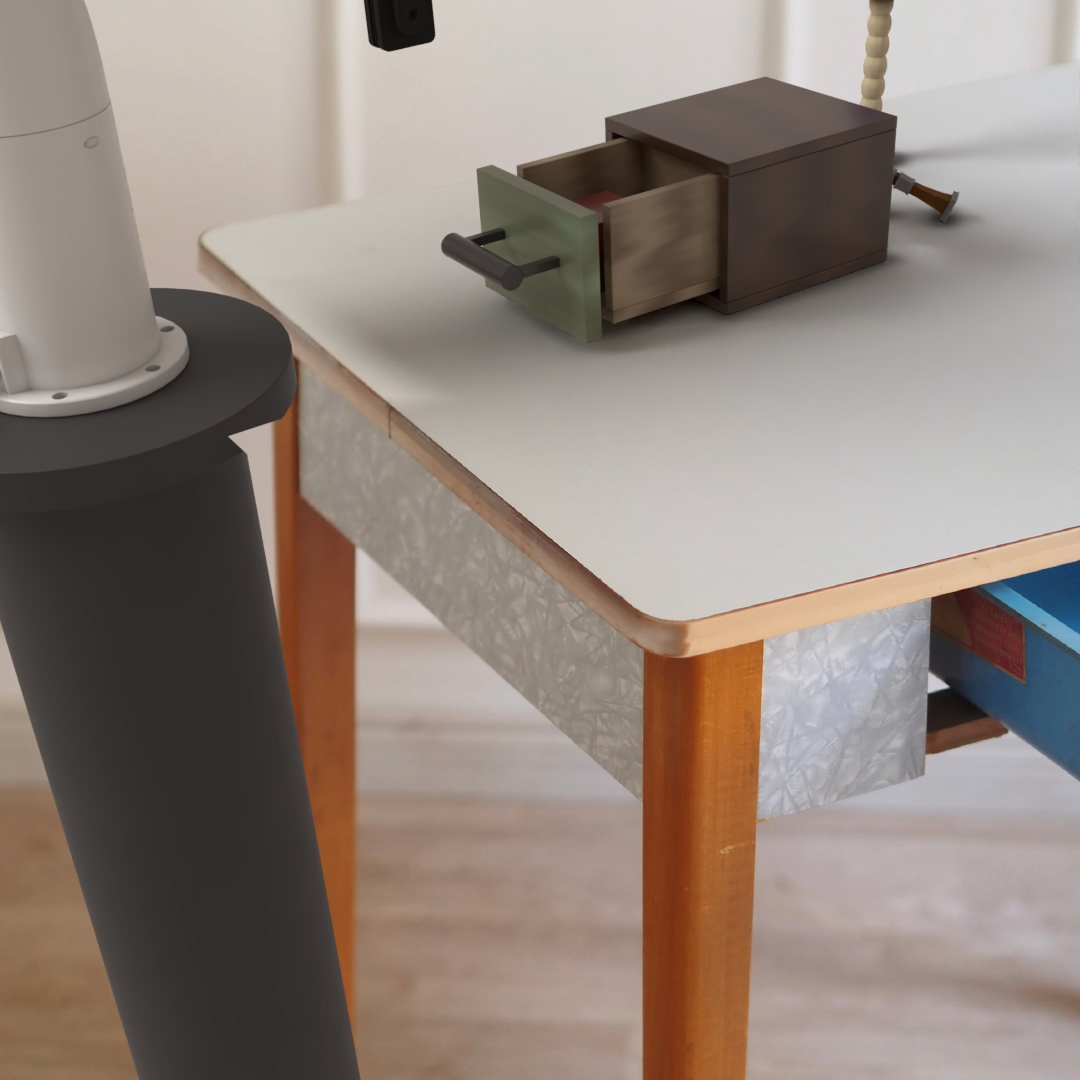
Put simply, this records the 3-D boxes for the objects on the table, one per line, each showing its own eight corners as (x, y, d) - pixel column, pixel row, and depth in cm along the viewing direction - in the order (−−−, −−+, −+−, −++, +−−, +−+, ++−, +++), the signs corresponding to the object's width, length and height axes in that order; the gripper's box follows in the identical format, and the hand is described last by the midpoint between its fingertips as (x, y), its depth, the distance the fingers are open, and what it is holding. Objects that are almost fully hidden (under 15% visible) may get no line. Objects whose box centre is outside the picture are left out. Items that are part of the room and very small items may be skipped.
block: (591, 296, 92) (588, 226, 89) (550, 274, 95) (547, 206, 92) (650, 277, 94) (649, 208, 91) (608, 257, 97) (606, 189, 94)
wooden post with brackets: (828, 194, 107) (857, 138, 105) (928, 244, 107) (961, 189, 104) (824, 202, 106) (854, 146, 103) (926, 253, 106) (958, 198, 103)
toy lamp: (893, 149, 118) (910, -77, 109) (908, 168, 114) (927, -64, 105) (832, 153, 118) (844, -72, 109) (846, 172, 114) (859, -60, 105)
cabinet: (727, 315, 93) (729, 164, 88) (608, 257, 102) (604, 117, 97) (887, 260, 99) (897, 115, 94) (762, 210, 108) (765, 76, 103)
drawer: (527, 364, 87) (518, 235, 82) (429, 303, 95) (417, 183, 91) (749, 289, 94) (752, 168, 90) (640, 239, 102) (638, 125, 98)
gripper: (220, -348, 74) (279, 34, 84) (361, -352, 63) (409, 87, 73) (355, -360, 77) (397, 9, 87) (511, -366, 66) (538, 56, 76)
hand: (402, 43), depth 80 cm, fingers closed
